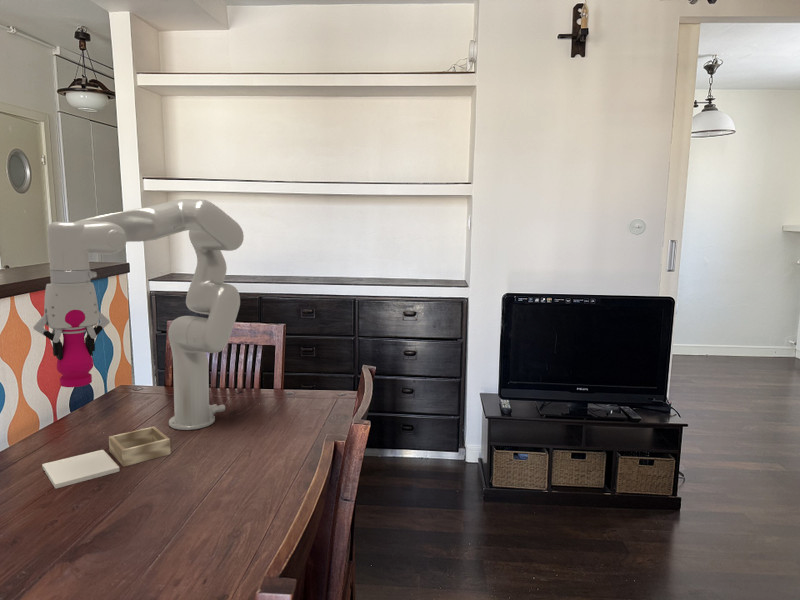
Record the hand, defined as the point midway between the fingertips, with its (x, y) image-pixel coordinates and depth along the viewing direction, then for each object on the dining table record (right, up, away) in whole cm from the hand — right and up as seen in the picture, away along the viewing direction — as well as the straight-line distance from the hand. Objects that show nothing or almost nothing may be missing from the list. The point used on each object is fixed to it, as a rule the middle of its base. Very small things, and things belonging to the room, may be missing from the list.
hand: (74, 355), depth 123 cm
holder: (+8, -26, +14) cm, 31 cm away
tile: (-1, -27, +4) cm, 28 cm away
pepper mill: (0, -7, +1) cm, 7 cm away
